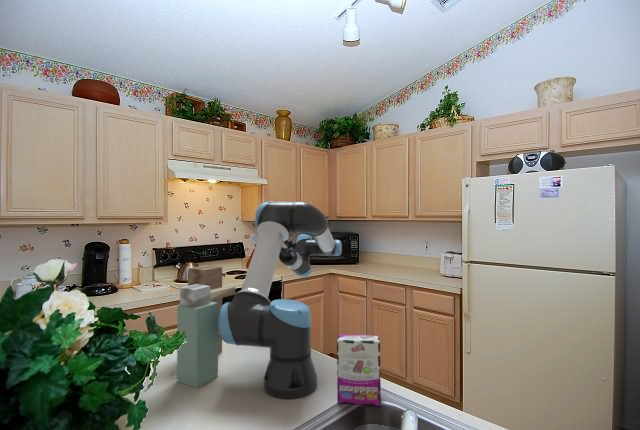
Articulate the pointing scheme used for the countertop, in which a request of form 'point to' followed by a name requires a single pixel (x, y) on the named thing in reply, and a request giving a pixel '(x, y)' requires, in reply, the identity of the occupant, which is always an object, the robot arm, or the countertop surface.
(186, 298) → the meat mallet
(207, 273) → the walnut pillar
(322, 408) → the countertop surface
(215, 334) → the sage block
